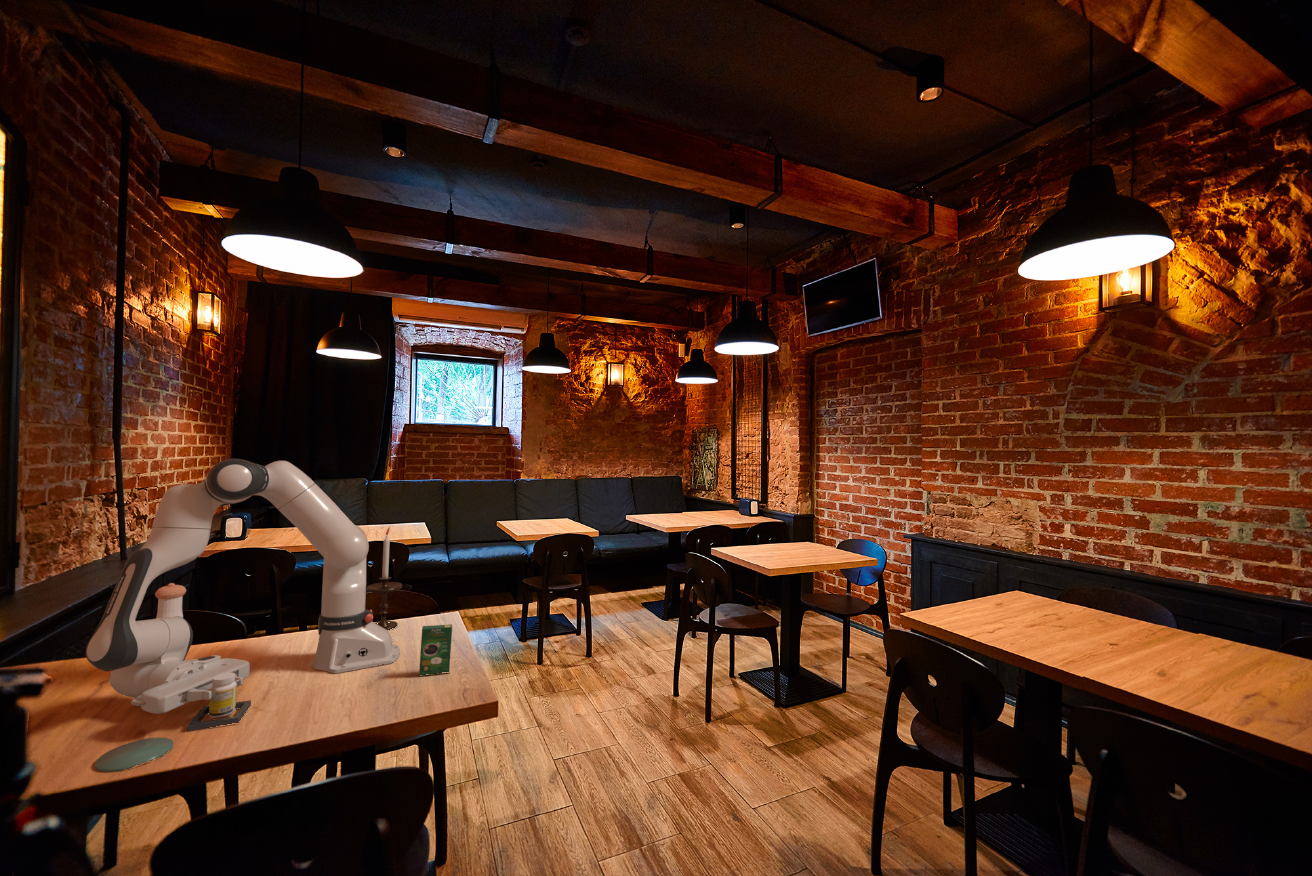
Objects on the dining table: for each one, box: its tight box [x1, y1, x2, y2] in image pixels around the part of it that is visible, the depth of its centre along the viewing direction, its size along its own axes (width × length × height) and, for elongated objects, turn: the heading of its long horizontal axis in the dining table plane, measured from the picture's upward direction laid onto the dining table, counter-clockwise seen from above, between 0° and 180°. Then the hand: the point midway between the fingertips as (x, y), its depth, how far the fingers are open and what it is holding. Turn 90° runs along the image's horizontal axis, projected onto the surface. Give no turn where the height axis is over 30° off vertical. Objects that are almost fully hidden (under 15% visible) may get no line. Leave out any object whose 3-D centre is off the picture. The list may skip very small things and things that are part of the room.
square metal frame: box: [186, 699, 252, 733], centre depth 119 cm, size 9×9×1 cm
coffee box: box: [418, 623, 453, 677], centre depth 146 cm, size 8×3×13 cm, turn 110°
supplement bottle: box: [208, 673, 238, 719], centre depth 120 cm, size 5×5×8 cm
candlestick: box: [366, 526, 403, 631], centre depth 183 cm, size 11×11×35 cm
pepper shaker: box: [154, 582, 187, 619], centre depth 161 cm, size 7×7×19 cm
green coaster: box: [94, 736, 174, 773], centre depth 104 cm, size 11×11×1 cm
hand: (226, 688), depth 120 cm, fingers closed on supplement bottle, 5 cm apart
